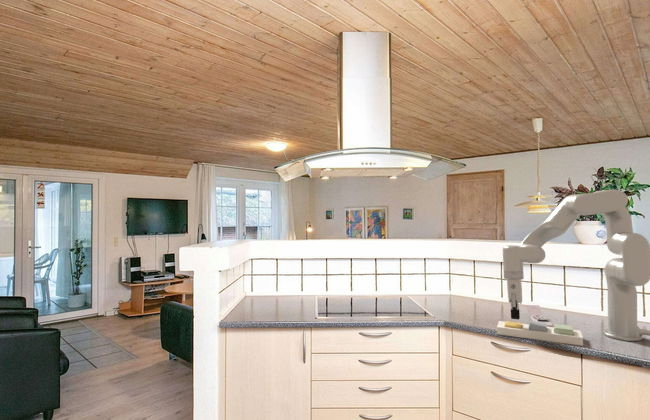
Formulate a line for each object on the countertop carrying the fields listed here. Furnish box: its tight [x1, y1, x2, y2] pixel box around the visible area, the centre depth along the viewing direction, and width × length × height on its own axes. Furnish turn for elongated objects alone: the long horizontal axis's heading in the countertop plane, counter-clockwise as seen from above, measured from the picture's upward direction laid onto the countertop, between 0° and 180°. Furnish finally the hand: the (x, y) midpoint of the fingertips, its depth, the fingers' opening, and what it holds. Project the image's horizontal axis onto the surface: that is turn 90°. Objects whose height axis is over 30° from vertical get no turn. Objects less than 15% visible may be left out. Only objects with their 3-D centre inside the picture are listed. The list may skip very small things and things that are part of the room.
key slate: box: [529, 320, 547, 332], centre depth 159 cm, size 6×6×2 cm
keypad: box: [496, 320, 584, 346], centre depth 159 cm, size 30×10×3 cm, turn 61°
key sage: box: [554, 323, 574, 335], centre depth 154 cm, size 6×6×2 cm
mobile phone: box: [525, 304, 554, 327], centre depth 176 cm, size 6×6×25 cm
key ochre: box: [505, 320, 523, 329], centre depth 163 cm, size 6×6×2 cm
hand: (515, 318), depth 163 cm, fingers closed
